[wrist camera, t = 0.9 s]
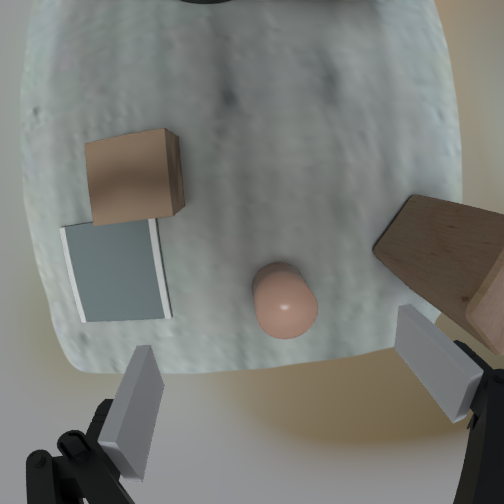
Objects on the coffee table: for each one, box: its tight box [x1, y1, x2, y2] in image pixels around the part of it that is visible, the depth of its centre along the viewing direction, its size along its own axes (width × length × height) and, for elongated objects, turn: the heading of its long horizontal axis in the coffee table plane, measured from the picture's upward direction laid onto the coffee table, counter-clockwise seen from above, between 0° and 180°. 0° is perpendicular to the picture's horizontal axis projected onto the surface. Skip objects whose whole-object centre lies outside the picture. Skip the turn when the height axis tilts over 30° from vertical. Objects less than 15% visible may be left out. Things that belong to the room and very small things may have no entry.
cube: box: [85, 128, 185, 226], centre depth 30 cm, size 8×8×8 cm
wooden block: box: [374, 194, 504, 356], centre depth 28 cm, size 10×10×20 cm
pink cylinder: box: [252, 263, 318, 339], centre depth 35 cm, size 6×6×7 cm
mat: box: [60, 218, 173, 323], centre depth 36 cm, size 13×13×1 cm
